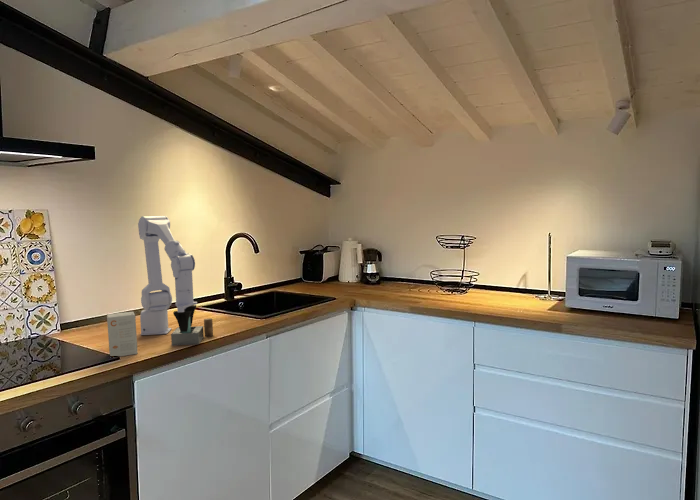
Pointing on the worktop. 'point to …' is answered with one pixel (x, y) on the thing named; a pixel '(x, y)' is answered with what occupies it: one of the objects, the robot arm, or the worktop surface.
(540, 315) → the worktop surface
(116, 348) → the small box
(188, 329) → the teal dowel
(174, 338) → the bore block
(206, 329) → the walnut dowel
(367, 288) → the worktop surface
